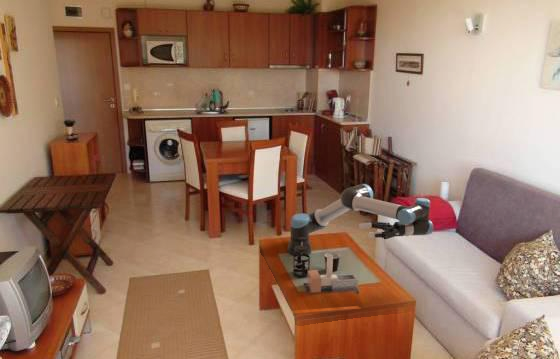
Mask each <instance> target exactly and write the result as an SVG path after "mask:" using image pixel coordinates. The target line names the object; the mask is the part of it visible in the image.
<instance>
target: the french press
mask: <svg viewBox="0 0 560 359" xmlns="http://www.w3.org/2000/svg"><path fill="white" fill-rule="evenodd" d="M298 239H299V240H301V242H303V240H306V238H304V237H300V238H298ZM309 250H310V248H309V247H307V246H296V247H294V253H295V254H296V255H293V263H292V264H293V265H292V268H293V269H292V270H293V271H292V275H293V277H295V278H298V279H306V278H307V274H308V270H310V261H311V257H310V254H308V255H307V254H302V252H306V253H309ZM303 257H305V258H307V259H303ZM300 272H301V274H298V273H300Z"/></svg>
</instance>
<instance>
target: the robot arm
mask: <svg viewBox="0 0 560 359" xmlns="http://www.w3.org/2000/svg"><path fill="white" fill-rule="evenodd" d="M430 209H431V200H429V198H424V197H418V198H415V200H414V204H413V205H410V206H405V205H402V204H398V203H397V204H396V203H392V202H389V201H383V200H380V199H376V198H374V191H373V189H372V188H371V186H370V185H368V184H366V183H360V184H358V185H355V186H350V187H348V188H345V189H344V190H343V191H342V192H341V195H340V198H339V199H338V200H335V201H334V202H332V203H331V204H329V205H327V206H325V207H324V208H322V209H321V208H318V209H315V211H313V212H310V213H309V214H307V213H296V214H294V215H293V216H291V219H290V222H289V223H290V239H289V243H288V245H287V253H288V252H289V253H288V254H290V255H292V256H294V255H296V254H295V253H294V247H296V246H307V247H309V248H310V250H309V253H306V252H302V254H307V255H310V254H311V253H312V246H311V243H310V234H311V233H313V232H317V231H321V230H323V229H325V228H326V227H327V226H328V225H329V223H330V222H331V221H332V220H334V219H336V218H337V217H339V216H341V215H343V214H345V213H347V212H349V211H350V210H352V211H356V212H357V211H363V212H366V213H371V214H375V215H378V216H382V217H386V218H390V219H392V220H397V221H395V222H394V224H390V223H391V222H383V221H372V220H371V221H370V222H364V223H363V222H362V223H359V224H358V228H359V229H360V230H362V229H363V230H364V229H365V230H366V229H370V230H371V229H376V230H378V229H379V230H382V231H374V232H373V231H372V232H370V231H369V232H368V233H367V239H375V238H377V239H378V238H382V239H384V240H387V239H391V238H395V237H409V236H429V235H431V234H433V232H434V224H433V222H432V220H430V212H431V211H430ZM300 237H304V238H306V240H303V242H301V240H299V239H298V238H300Z"/></svg>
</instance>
